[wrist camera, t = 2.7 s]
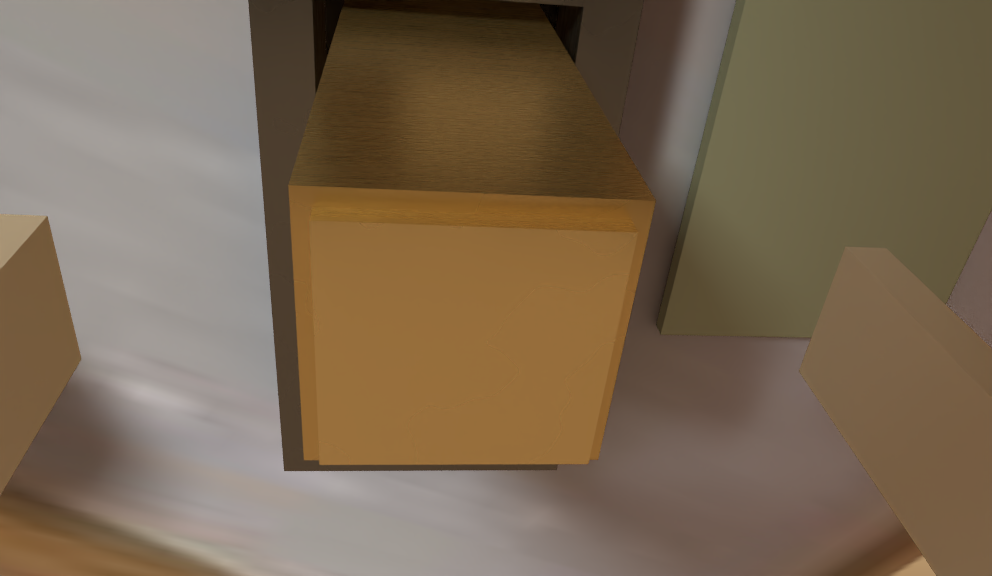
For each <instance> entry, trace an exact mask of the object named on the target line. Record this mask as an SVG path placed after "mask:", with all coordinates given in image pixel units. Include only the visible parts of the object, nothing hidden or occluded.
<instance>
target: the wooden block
mask: <svg viewBox="0 0 992 576" xmlns="http://www.w3.org/2000/svg"><path fill="white" fill-rule="evenodd" d="M288 188H289V205H290V223H291V241H292V258H293V276H294V294H295V311H296V329H297V347H298V364H299V382H300V400H301V417H302V435H303V452H304V460H319V464H320V465H454V464H588V463H589V460H598V458H599V453H600V449H601V444H602V440H603V435H604V431H605V426H606V422H607V417H608V413H609V408H610V404H611V399H612V395H613V391H614V386H615V382H616V377H617V373H618V368H619V364H620V359H621V355H622V350H623V346H624V341H625V337H626V332H627V328H628V323H629V319H630V315H631V310H632V306H633V301H634V297H635V292H636V288H637V283H638V279H639V274H640V270H641V265H642V261H643V256H644V252H645V247H646V243H647V239H648V234H649V230H650V225H651V221H652V216H653V212H654V207H655V203H656V200H655V198H654V197H653V195H652V193H651V192H650V190H649V188H648V187H647V185H646V183H645V182H644V180H643V178H642V177H641V175H640V173H639V171H638V170H637V168H636V166H635V165H634V163H633V161H632V160H631V158H630V156H629V155H628V153H627V151H626V150H625V148H624V146H623V145H622V143H621V141H620V140H619V138H618V136H617V135H616V133H615V131H614V130H613V128H612V126H611V124H610V123H609V121H608V119H607V118H606V116H605V114H604V113H603V111H602V109H601V108H600V106H599V104H598V103H597V101H596V99H595V98H594V96H593V94H592V93H591V91H590V89H589V88H588V86H587V84H586V82H585V81H584V79H583V77H582V76H581V74H580V72H579V71H578V69H577V67H576V66H575V64H574V62H573V61H572V59H571V57H570V56H569V54H568V52H567V51H566V49H565V47H564V46H563V44H562V42H561V40H560V39H559V37H558V35H557V34H556V32H555V30H554V29H553V27H552V25H551V24H550V22H549V20H548V19H547V17H546V15H545V14H544V12H543V10H542V9H541V7H540V5H539V4H538V3H526V2H513V1H500V0H344V3H343V7H342V10H341V13H340V17H339V20H338V23H337V26H336V30H335V33H334V36H333V40H332V43H331V46H330V50H329V53H328V56H327V59H326V63H325V66H324V69H323V73H322V76H321V79H320V83H319V86H318V89H317V92H316V96H315V99H314V102H313V106H312V109H311V112H310V115H309V119H308V122H307V125H306V129H305V132H304V135H303V139H302V142H301V145H300V148H299V152H298V155H297V158H296V162H295V165H294V168H293V172H292V175H291V178H290V181H289V185H288Z"/></svg>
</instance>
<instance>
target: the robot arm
mask: <svg viewBox="0 0 992 576" xmlns="http://www.w3.org/2000/svg"><path fill="white" fill-rule="evenodd" d="M80 361H81V355H80V351H79V347H78V343H77V338H76V334H75V330H74V326H73V322H72V317H71V313H70V309H69V305H68V301H67V296H66V292H65V288H64V284H63V280H62V275H61V271H60V267H59V263H58V259H57V254H56V250H55V246H54V242H53V238H52V233H51V229H50V225H49V221H48V217H47V216H34V215H8V214H0V495H1V494H2V492H3V490H4V489H5V487H6V485H7V484H8V482H9V480H10V478H11V477H12V475H13V473H14V472H15V470H16V468H17V467H18V465H19V463H20V462H21V460H22V458H23V457H24V455H25V453H26V452H27V450H28V448H29V446H30V445H31V443H32V441H33V440H34V438H35V436H36V435H37V433H38V431H39V430H40V428H41V426H42V425H43V423H44V421H45V420H46V418H47V416H48V414H49V413H50V411H51V409H52V408H53V406H54V404H55V403H56V401H57V399H58V398H59V396H60V394H61V393H62V391H63V389H64V388H65V386H66V384H67V382H68V381H69V379H70V377H71V376H72V374H73V372H74V371H75V369H76V367H77V366H78V364H79V362H80ZM799 372H800V374H801V375H802V377H803V378H804V380H805V381H806V382H807V384H808V385H809V387H810V388H811V390H812V391H813V393H814V394H815V396H816V397H817V399H818V400H819V402H820V403H821V405H822V406H823V408H824V409H825V411H826V412H827V414H828V415H829V417H830V418H831V420H832V421H833V423H834V424H835V426H836V427H837V429H838V430H839V432H840V433H841V434H842V436H843V437H844V439H845V440H846V442H847V443H848V445H849V446H850V448H851V449H852V451H853V452H854V454H855V455H856V457H857V458H858V460H859V461H860V463H861V464H862V466H863V467H864V469H865V470H866V472H867V473H868V475H869V476H870V478H871V479H872V481H873V482H874V483H875V485H876V486H877V488H878V489H879V491H880V492H881V494H882V495H883V497H884V498H885V500H886V501H887V503H888V504H889V506H890V507H891V509H892V510H893V512H894V513H895V515H896V516H897V518H898V519H899V521H900V522H901V524H902V525H903V527H904V528H905V530H906V531H907V533H908V534H909V535H910V537H911V538H912V540H913V541H914V543H915V544H916V546H917V547H918V549H919V550H920V552H921V553H922V555H923V556H924V558H925V559H926V561H927V562H928V563H929V565H930V567H931V568H932V570H933V571H934V573H935V574H936V576H992V348H991V347H990V346H989V345H988V344H986V343H985V342H984V341H983V340H982V339H981V338H980V337H979V336H978V335H977V334H976V333H975V332H974V331H973V330H972V329H971V328H970V327H969V326H968V325H966V324H965V323H964V322H963V321H962V320H961V319H960V318H959V317H958V316H957V315H956V314H955V313H954V312H953V311H952V310H951V309H950V308H949V307H948V306H946V305H945V304H944V303H943V302H942V301H941V300H940V299H939V298H938V297H937V296H936V295H935V294H934V293H933V292H932V291H931V290H930V289H929V288H928V287H927V286H925V285H924V284H923V283H922V282H921V281H920V280H919V279H918V278H917V277H916V276H915V275H914V274H913V273H912V272H911V271H910V270H909V269H908V268H907V267H905V266H904V265H903V264H902V263H901V262H900V261H899V260H898V259H897V258H896V257H895V256H894V255H893V254H892V253H891V252H890V251H889V250H888V249H887V248H869V247H845V249H844V252H843V255H842V257H841V260H840V263H839V265H838V268H837V271H836V273H835V276H834V279H833V281H832V284H831V287H830V289H829V292H828V295H827V297H826V300H825V303H824V305H823V308H822V311H821V313H820V316H819V319H818V321H817V324H816V327H815V329H814V332H813V335H812V338H811V340H810V343H809V346H808V348H807V351H806V354H805V356H804V359H803V362H802V364H801V367H800V370H799Z"/></svg>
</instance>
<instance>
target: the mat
mask: <svg viewBox="0 0 992 576" xmlns="http://www.w3.org/2000/svg"><path fill="white" fill-rule="evenodd" d="M991 210H992V0H736V4H735V8H734V12H733V16H732V20H731V24H730V28H729V32H728V36H727V40H726V44H725V48H724V52H723V56H722V60H721V64H720V68H719V73H718V77H717V81H716V85H715V89H714V93H713V97H712V101H711V105H710V109H709V113H708V117H707V121H706V125H705V129H704V133H703V137H702V141H701V145H700V149H699V153H698V157H697V161H696V166H695V170H694V174H693V178H692V182H691V186H690V190H689V194H688V198H687V202H686V206H685V210H684V214H683V218H682V222H681V226H680V230H679V234H678V238H677V242H676V246H675V250H674V254H673V259H672V263H671V267H670V271H669V275H668V279H667V283H666V287H665V291H664V295H663V299H662V303H661V307H660V311H659V315H658V319H657V323H656V325H657V328H658V330H659V332H660V334H661V335H699V336H751V337H803V338H812V335H813V332H814V329H815V327H816V324H817V321H818V319H819V316H820V313H821V311H822V308H823V305H824V303H825V300H826V297H827V295H828V292H829V289H830V287H831V284H832V281H833V279H834V276H835V273H836V271H837V268H838V265H839V263H840V260H841V257H842V255H843V252H844V249H845V247H869V248H887V249H888V250H889V251H890V252H891V253H892V254H893V255H894V256H895V257H896V258H897V259H898V260H899V261H900V262H901V263H902V264H903V265H904V266H905V267H907V268H908V269H909V270H910V271H911V272H912V273H913V274H914V275H915V276H916V277H917V278H918V279H919V280H920V281H921V282H922V283H923V284H924V285H925V286H927V287H928V288H929V289H930V290H931V291H932V292H933V293H934V294H935V295H936V296H937V297H938V298H939V299H940V300H941V301H942V302H943V303H944V304H945V305H946V303H947V301H948V299H949V297H950V295H951V293H952V290H953V288H954V286H955V284H956V282H957V280H958V278H959V276H960V274H961V272H962V270H963V268H964V266H965V264H966V262H967V259H968V257H969V255H970V253H971V251H972V249H973V247H974V245H975V243H976V241H977V239H978V237H979V235H980V233H981V230H982V228H983V226H984V224H985V222H986V220H987V218H988V216H989V214H990V212H991Z"/></svg>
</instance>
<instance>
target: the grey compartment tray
mask: <svg viewBox="0 0 992 576" xmlns="http://www.w3.org/2000/svg"><path fill="white" fill-rule="evenodd" d="M500 1H513V2H526V3H540V4H553V5H559V10H558V17H557V25H556V34H557V35H558V37H559V39H560V40H561V42H562V44H563V46H564V47H565V49H566V51H567V52H568V54H569V56H570V57H571V59H572V61H573V62H574V64H575V66H576V67H577V69H578V71H579V72H580V74H581V76H582V77H583V79H584V81H585V82H586V84H587V86H588V88H589V89H590V91H591V93H592V94H593V96H594V98H595V99H596V101H597V103H598V104H599V106H600V108H601V109H602V111H603V113H604V114H605V116H606V118H607V119H608V121H609V123H610V124H611V126H612V128H613V130H614V131H615V133H616V135H617V136H619V131H620V125H621V120H622V115H623V109H624V104H625V98H626V93H627V88H628V82H629V77H630V72H631V66H632V61H633V55H634V50H635V45H636V39H637V34H638V29H639V23H640V18H641V12H642V7H643V2H644V0H500ZM248 2H249V15H250V28H251V41H252V55H253V68H254V81H255V94H256V107H257V120H258V133H259V146H260V159H261V173H262V186H263V199H264V212H265V225H266V238H267V251H268V264H269V278H270V291H271V304H272V317H273V330H274V343H275V356H276V369H277V383H278V396H279V409H280V422H281V435H282V448H283V461H284V471H413V470H557V464H454V465H320V464H319V460H304V452H303V435H302V417H301V400H300V382H299V364H298V347H297V329H296V311H295V294H294V276H293V258H292V241H291V223H290V205H289V188H288V185H289V181H290V178H291V175H292V172H293V168H294V165H295V162H296V158H297V155H298V152H299V148H300V145H301V142H302V139H303V135H304V132H305V129H306V125H307V122H308V119H309V115H310V112H311V109H312V106H313V102H314V99H315V96H316V92H317V89H318V86H319V83H320V79H321V76H322V73H323V69H324V66H325V63H326V59H327V54H326V14H325V0H248Z"/></svg>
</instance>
